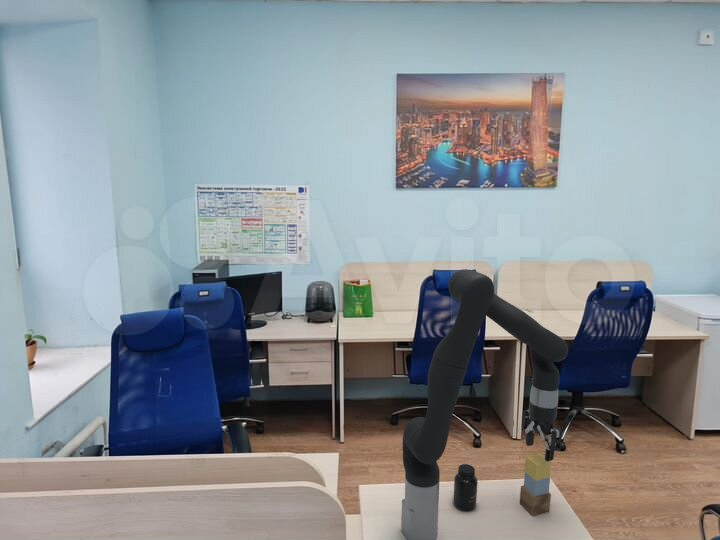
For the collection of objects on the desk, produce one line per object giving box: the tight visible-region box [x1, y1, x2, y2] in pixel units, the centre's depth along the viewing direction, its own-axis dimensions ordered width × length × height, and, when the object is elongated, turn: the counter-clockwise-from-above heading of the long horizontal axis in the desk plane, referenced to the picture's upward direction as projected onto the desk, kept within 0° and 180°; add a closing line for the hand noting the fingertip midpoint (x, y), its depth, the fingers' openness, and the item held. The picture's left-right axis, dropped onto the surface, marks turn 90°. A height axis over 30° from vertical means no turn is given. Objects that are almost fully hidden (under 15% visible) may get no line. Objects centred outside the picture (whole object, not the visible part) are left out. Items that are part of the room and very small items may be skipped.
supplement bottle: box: [452, 463, 478, 512], centre depth 150 cm, size 7×7×12 cm
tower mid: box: [523, 471, 551, 497], centre depth 148 cm, size 5×5×5 cm
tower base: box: [519, 484, 552, 517], centre depth 149 cm, size 6×6×6 cm
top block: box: [524, 453, 552, 481], centre depth 147 cm, size 5×5×5 cm
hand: (538, 452), depth 146 cm, fingers open, 8 cm apart
